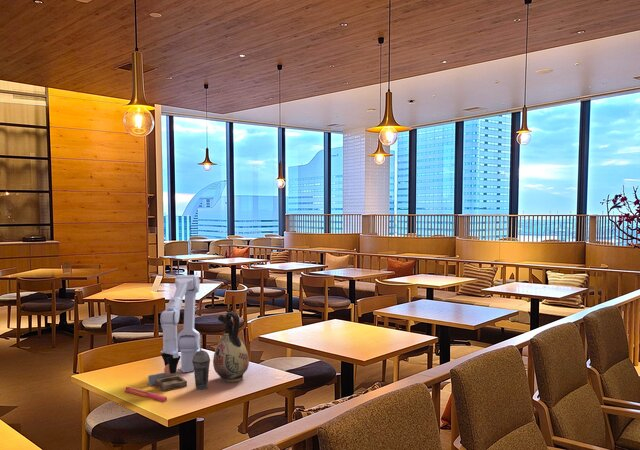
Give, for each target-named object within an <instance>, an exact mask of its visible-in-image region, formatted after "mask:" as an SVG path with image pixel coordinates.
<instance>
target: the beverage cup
mask: <svg viewBox="0 0 640 450" xmlns="http://www.w3.org/2000/svg"><path fill="white" fill-rule="evenodd" d="M199 349H200V351H198V352H196V353H195V354H194V356H193V360H192V362H193V367H194V371H193V373H194V374H193V375H194V383H195V388H196V389H195V390H196V391H205V390H208V385H209V371H210V362H211V357H210V354H209V353H208V352H207V351H206V350H202V340H201V338H200V348H199Z"/></svg>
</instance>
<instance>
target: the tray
mask: <svg viewBox="0 0 640 450" xmlns="http://www.w3.org/2000/svg"><path fill="white" fill-rule="evenodd" d="M155 386H156V387H157V388H159V389H160V390H161V391H162V392H167V391H171V390H177V389H182V388H186V387H187V386H188V381H187V380H186V379H184V378H183V377H182V376H181V375H179V374H177V376H172V377H167V378H162V379H157V380H156V384H155Z"/></svg>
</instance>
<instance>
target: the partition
mask: <svg viewBox="0 0 640 450" xmlns="http://www.w3.org/2000/svg"><path fill="white" fill-rule="evenodd" d="M177 375H178V370H177V371H176V373H175V374H174V375H172V376H177ZM172 376H168V375H166V374H165V372H160V373H155V374H149V375H148V377H147V379H148V382H147V385H148V386H149V387H152V386H155V385H156V380H157V379H162V378H167V377H172Z"/></svg>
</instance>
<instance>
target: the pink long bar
mask: <svg viewBox="0 0 640 450" xmlns="http://www.w3.org/2000/svg"><path fill="white" fill-rule="evenodd" d="M124 392H126V393H130V394H134V395H137V396H141V397H146V398H149V399H152V400H156V401H161V402H167V401H168V397H167V396H165V395H162V394H158V393H155V392H149V391H146V390H144V389H143V390H142V389H138V388H135V387H131V386H125V388H124Z"/></svg>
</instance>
